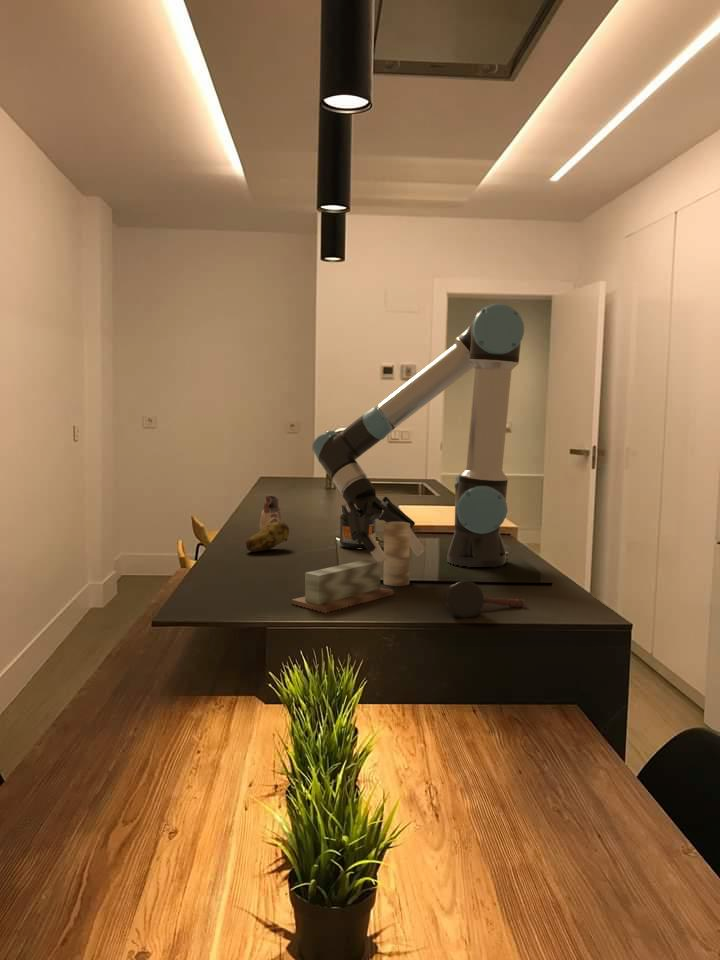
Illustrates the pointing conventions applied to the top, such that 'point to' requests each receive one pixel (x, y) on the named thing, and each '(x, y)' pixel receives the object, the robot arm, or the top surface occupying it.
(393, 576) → the rod
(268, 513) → the figurine
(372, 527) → the supplement container
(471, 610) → the coffee pot
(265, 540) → the potato
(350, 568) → the stand
